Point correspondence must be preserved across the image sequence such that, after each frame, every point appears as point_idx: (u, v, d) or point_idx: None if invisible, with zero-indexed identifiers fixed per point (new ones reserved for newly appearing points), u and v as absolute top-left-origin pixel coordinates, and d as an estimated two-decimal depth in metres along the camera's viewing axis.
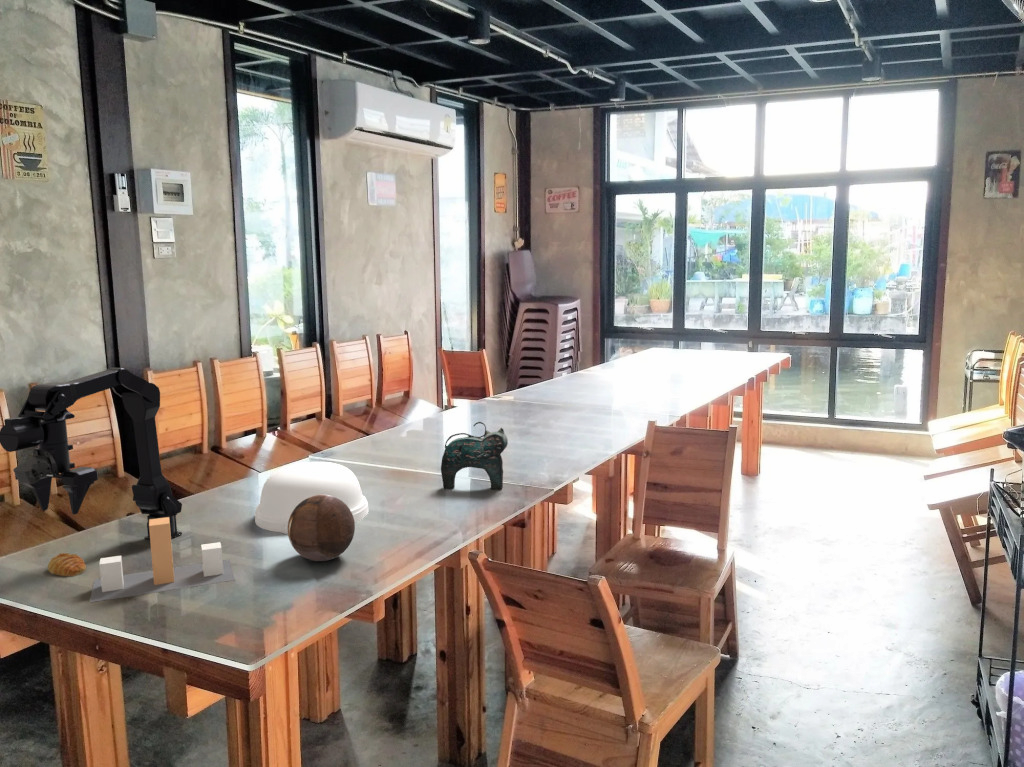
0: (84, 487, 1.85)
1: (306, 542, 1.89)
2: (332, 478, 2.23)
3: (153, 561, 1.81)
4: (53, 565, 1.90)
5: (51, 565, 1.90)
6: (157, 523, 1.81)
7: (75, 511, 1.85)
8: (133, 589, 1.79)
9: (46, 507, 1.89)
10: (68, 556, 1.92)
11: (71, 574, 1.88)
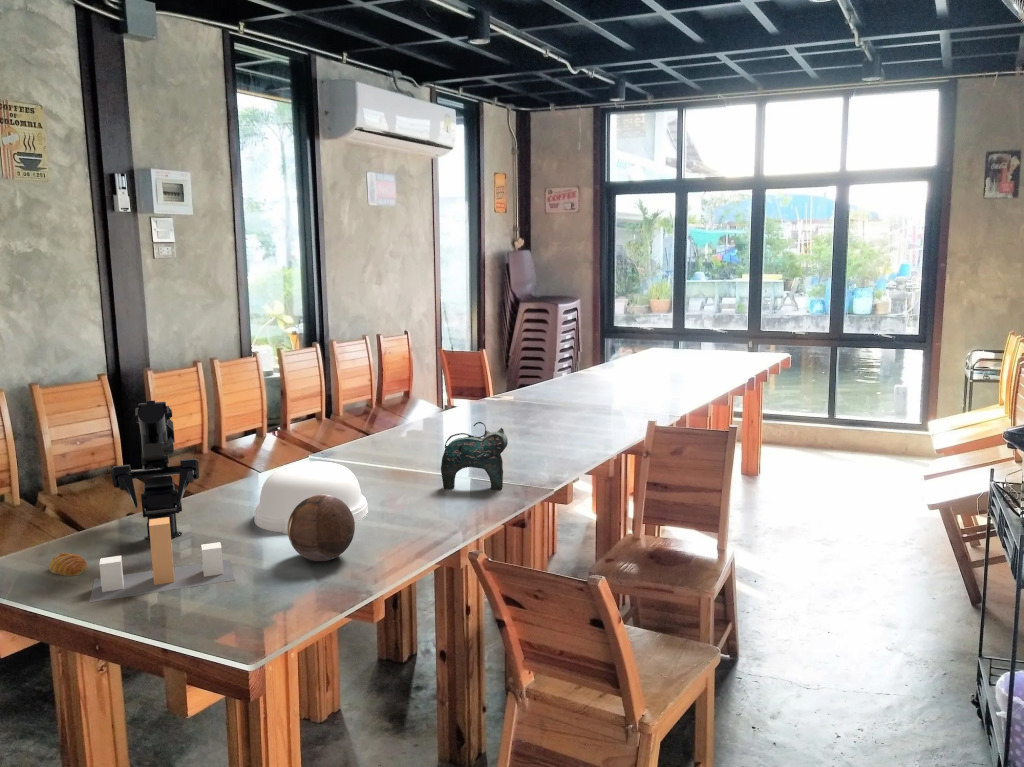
0: (186, 483, 2.03)
1: (306, 542, 1.89)
2: (331, 478, 2.23)
3: (153, 561, 1.81)
4: (55, 564, 1.90)
5: (52, 565, 1.90)
6: (157, 523, 1.81)
7: (181, 498, 1.98)
8: (133, 589, 1.79)
9: None
10: (69, 556, 1.92)
11: (73, 574, 1.88)
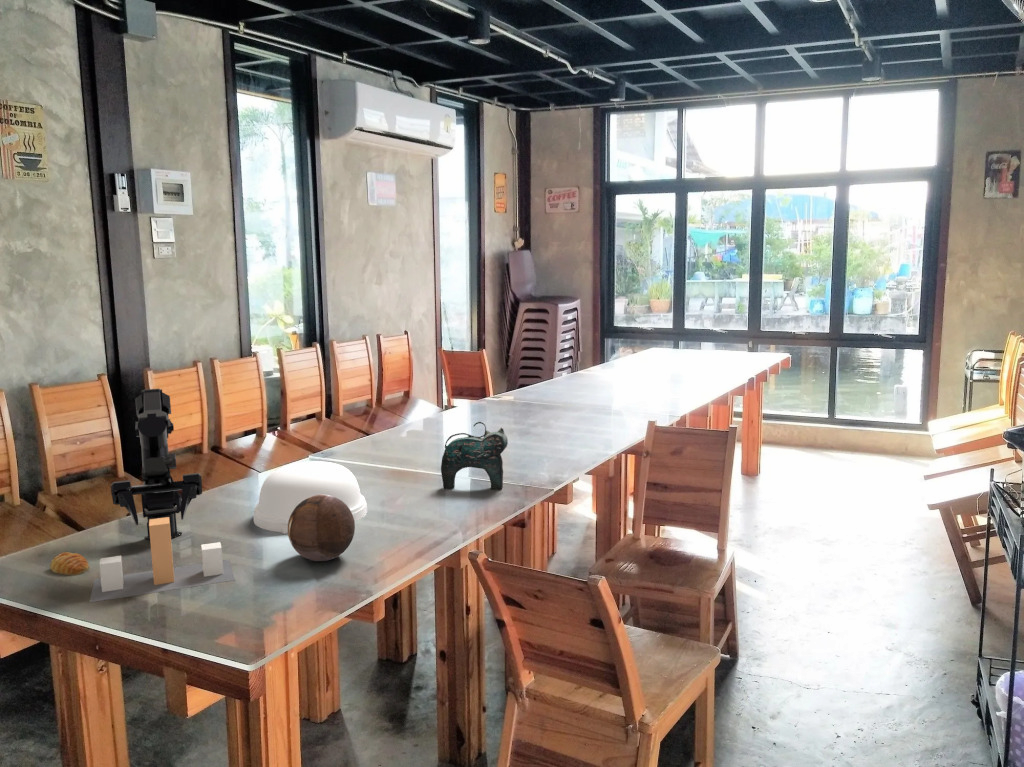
0: (189, 498, 1.94)
1: (306, 542, 1.89)
2: (330, 478, 2.23)
3: (153, 561, 1.81)
4: (56, 564, 1.91)
5: (54, 564, 1.91)
6: (157, 523, 1.81)
7: (183, 515, 1.90)
8: (133, 589, 1.79)
9: None
10: (70, 555, 1.93)
11: (75, 573, 1.89)
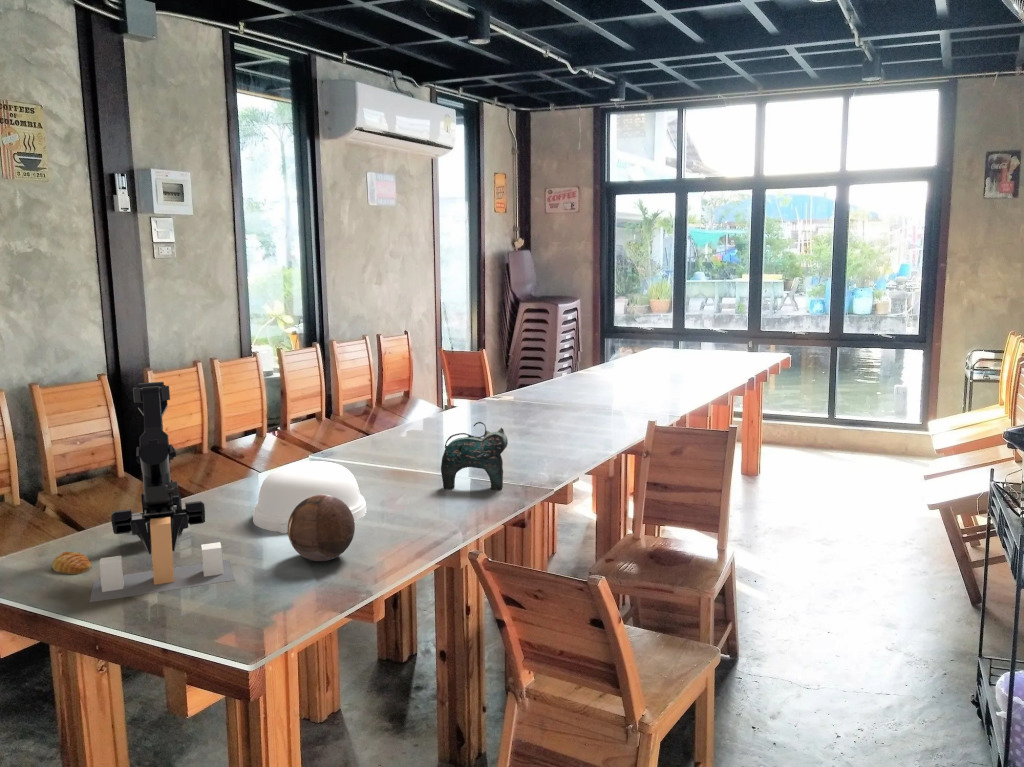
0: (180, 529, 1.88)
1: (306, 542, 1.89)
2: (329, 478, 2.23)
3: (153, 561, 1.81)
4: (58, 563, 1.91)
5: (56, 564, 1.91)
6: (158, 523, 1.81)
7: (174, 547, 1.83)
8: (133, 589, 1.79)
9: (150, 551, 1.82)
10: (72, 554, 1.93)
11: (77, 572, 1.89)
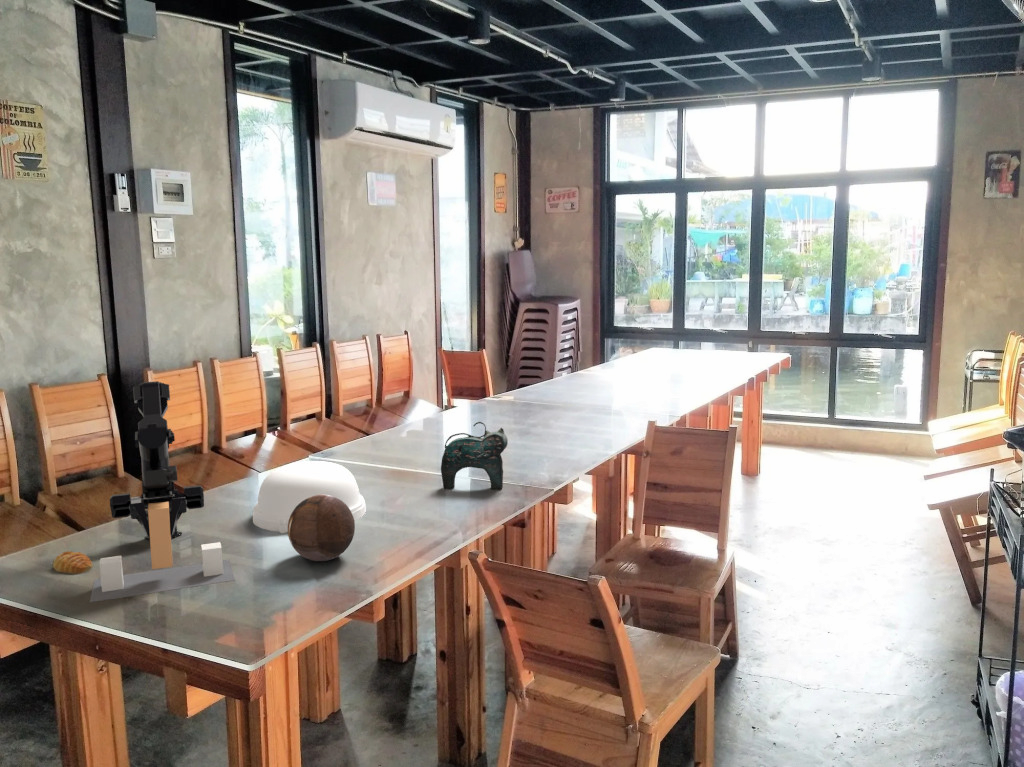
0: (178, 513, 1.87)
1: (306, 542, 1.89)
2: (329, 478, 2.23)
3: (151, 545, 1.80)
4: (59, 563, 1.91)
5: (57, 563, 1.91)
6: (156, 507, 1.81)
7: (173, 531, 1.83)
8: (133, 589, 1.79)
9: None
10: (73, 554, 1.94)
11: (79, 571, 1.90)
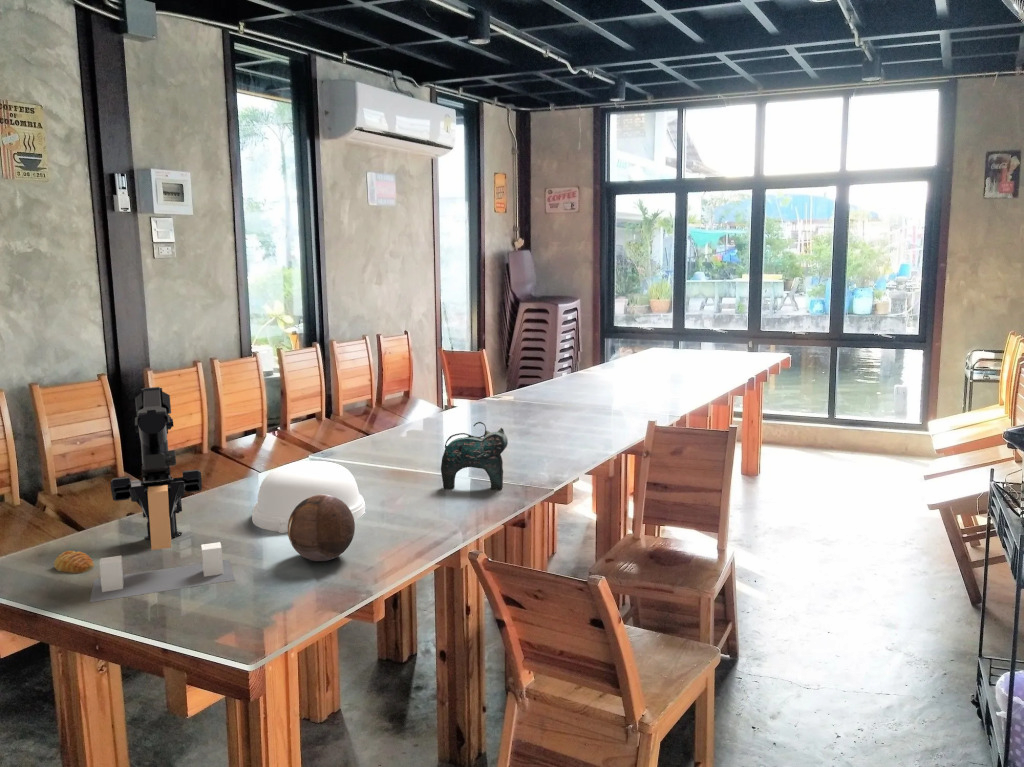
0: (177, 496, 1.94)
1: (306, 542, 1.89)
2: (328, 478, 2.23)
3: (151, 527, 1.87)
4: (61, 562, 1.92)
5: (58, 563, 1.92)
6: (155, 490, 1.87)
7: (171, 513, 1.89)
8: (133, 589, 1.79)
9: None
10: (75, 553, 1.94)
11: (80, 571, 1.90)
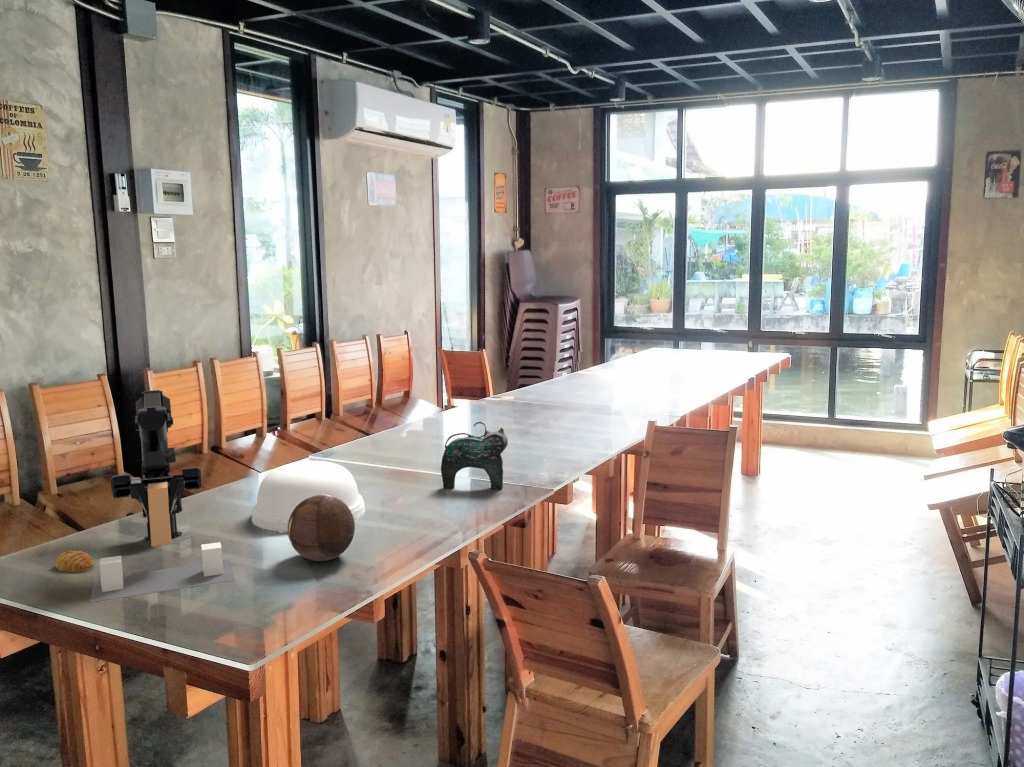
0: (177, 493, 1.95)
1: (306, 542, 1.89)
2: (327, 477, 2.23)
3: (151, 523, 1.88)
4: (62, 562, 1.92)
5: (59, 562, 1.92)
6: (155, 487, 1.88)
7: (171, 510, 1.90)
8: (133, 589, 1.79)
9: None
10: (75, 553, 1.94)
11: (82, 570, 1.90)
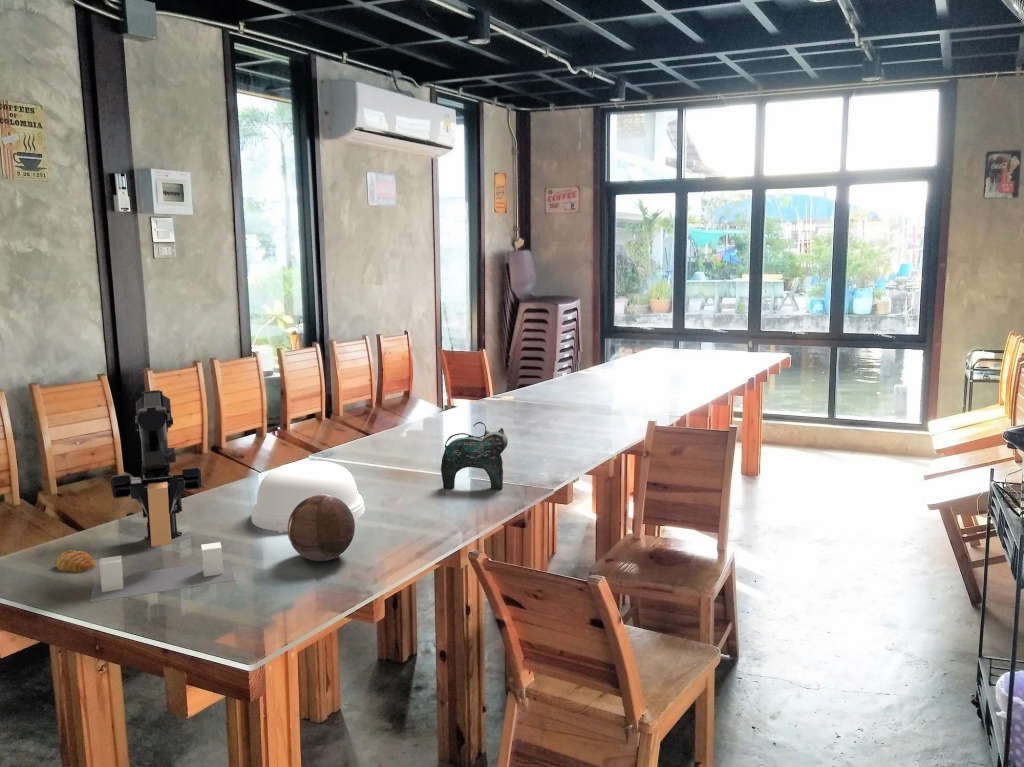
0: (177, 493, 1.95)
1: (306, 542, 1.89)
2: (327, 477, 2.23)
3: (151, 523, 1.88)
4: (62, 561, 1.92)
5: (60, 562, 1.92)
6: (155, 487, 1.88)
7: (171, 510, 1.90)
8: (133, 589, 1.79)
9: None
10: (76, 553, 1.94)
11: (82, 570, 1.90)
